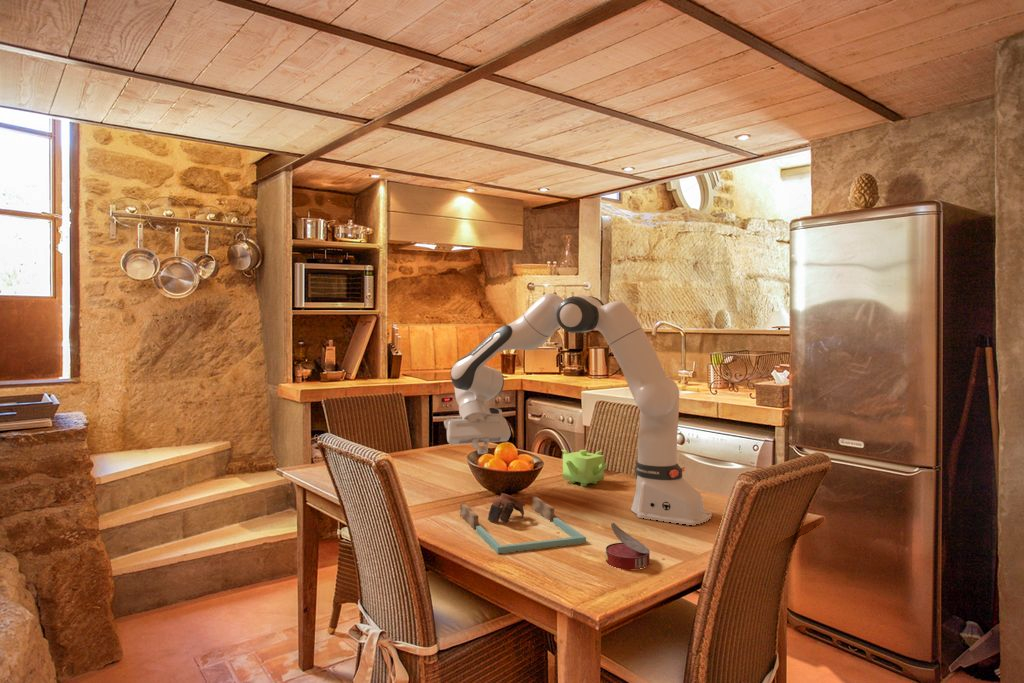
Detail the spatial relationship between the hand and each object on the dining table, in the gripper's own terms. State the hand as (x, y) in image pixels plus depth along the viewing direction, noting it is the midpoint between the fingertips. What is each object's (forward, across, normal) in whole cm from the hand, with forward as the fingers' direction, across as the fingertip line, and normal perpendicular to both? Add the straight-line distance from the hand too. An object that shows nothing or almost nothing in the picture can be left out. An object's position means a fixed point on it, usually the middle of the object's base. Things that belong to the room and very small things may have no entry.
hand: (483, 452), depth 202 cm
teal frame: (+37, 0, -17) cm, 41 cm away
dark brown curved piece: (+27, -1, -6) cm, 28 cm away
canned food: (+54, +15, -33) cm, 65 cm away
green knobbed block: (+4, +39, +16) cm, 42 cm away
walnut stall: (+25, 0, -5) cm, 26 cm away
